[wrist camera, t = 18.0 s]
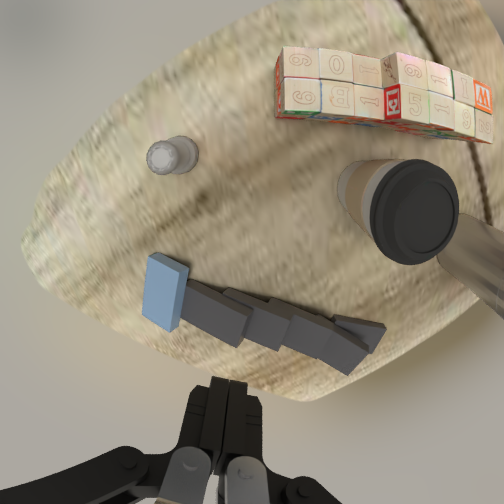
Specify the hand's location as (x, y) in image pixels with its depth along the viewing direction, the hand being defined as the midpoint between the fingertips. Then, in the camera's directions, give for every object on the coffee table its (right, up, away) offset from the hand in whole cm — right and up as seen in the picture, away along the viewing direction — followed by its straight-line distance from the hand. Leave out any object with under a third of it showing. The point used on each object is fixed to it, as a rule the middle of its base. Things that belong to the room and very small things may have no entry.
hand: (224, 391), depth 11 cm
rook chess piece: (-7, +17, +20) cm, 27 cm away
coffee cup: (+15, +14, +22) cm, 30 cm away
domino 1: (-8, 0, +25) cm, 27 cm away
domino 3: (+3, -2, +27) cm, 27 cm away
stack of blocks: (+14, +24, +18) cm, 33 cm away
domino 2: (-3, -1, +26) cm, 26 cm away
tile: (-9, +5, +23) cm, 25 cm away
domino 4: (+9, -5, +27) cm, 29 cm away
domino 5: (+12, -5, +28) cm, 31 cm away
